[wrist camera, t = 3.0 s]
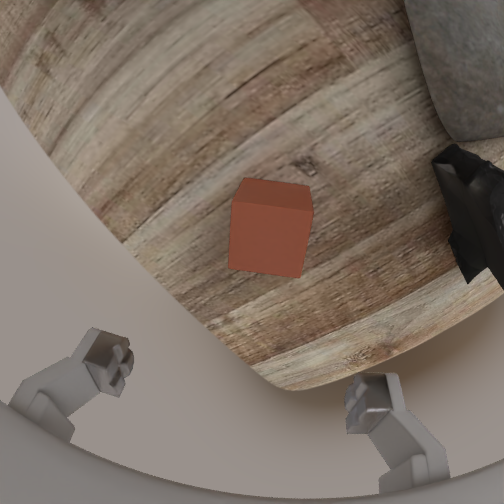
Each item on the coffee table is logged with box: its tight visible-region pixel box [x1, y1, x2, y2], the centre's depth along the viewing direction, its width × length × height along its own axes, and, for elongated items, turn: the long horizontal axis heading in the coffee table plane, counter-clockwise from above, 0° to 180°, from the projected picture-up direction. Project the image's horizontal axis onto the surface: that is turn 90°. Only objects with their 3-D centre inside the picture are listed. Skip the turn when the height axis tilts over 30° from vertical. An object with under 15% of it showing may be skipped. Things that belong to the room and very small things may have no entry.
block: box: [228, 178, 314, 278], centre depth 19 cm, size 4×4×4 cm
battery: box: [431, 144, 504, 290], centre depth 15 cm, size 12×8×7 cm
